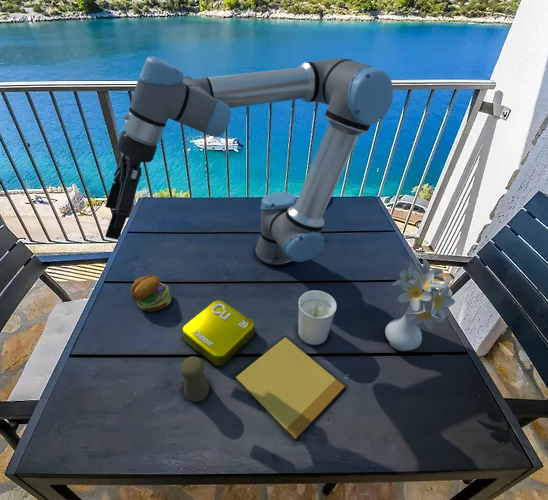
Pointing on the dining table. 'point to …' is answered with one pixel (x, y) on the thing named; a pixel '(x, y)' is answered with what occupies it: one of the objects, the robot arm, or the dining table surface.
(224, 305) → the element tile
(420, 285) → the flower vase
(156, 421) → the dining table surface
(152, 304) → the cheeseburger
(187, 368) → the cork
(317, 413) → the towel
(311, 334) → the candle holder
